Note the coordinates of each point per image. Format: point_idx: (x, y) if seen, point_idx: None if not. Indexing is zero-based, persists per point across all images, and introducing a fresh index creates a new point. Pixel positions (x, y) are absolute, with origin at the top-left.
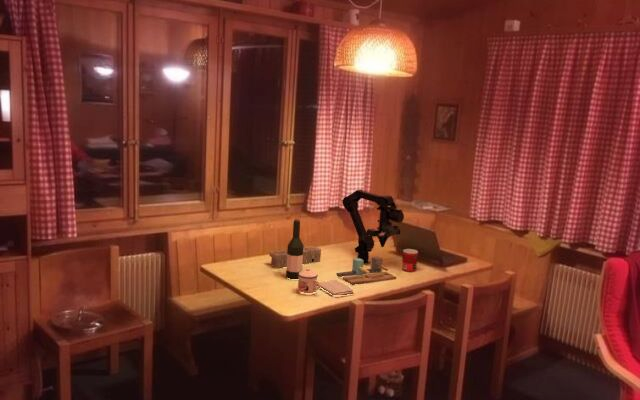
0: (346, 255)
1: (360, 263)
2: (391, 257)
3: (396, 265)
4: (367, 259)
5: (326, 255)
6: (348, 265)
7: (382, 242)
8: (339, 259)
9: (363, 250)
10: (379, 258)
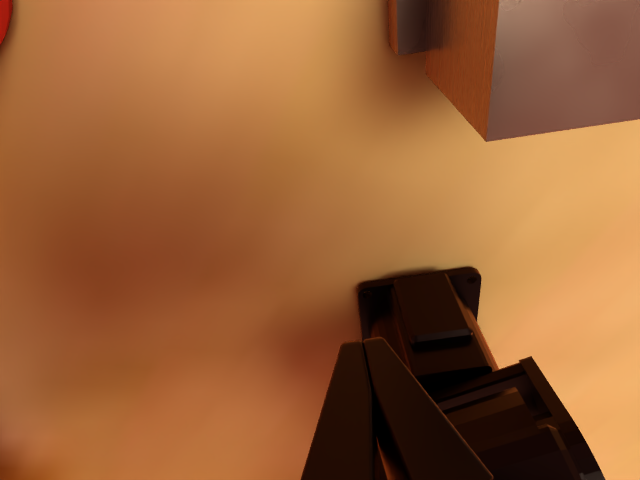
0: None
1: None
2: (58, 399)
3: (61, 193)
4: (418, 305)
5: None
6: (608, 264)
7: (461, 457)
8: None
9: (551, 391)
10: (546, 6)
